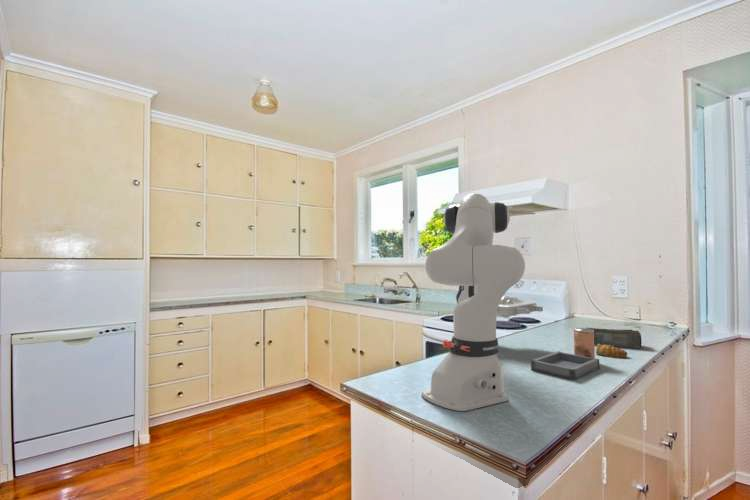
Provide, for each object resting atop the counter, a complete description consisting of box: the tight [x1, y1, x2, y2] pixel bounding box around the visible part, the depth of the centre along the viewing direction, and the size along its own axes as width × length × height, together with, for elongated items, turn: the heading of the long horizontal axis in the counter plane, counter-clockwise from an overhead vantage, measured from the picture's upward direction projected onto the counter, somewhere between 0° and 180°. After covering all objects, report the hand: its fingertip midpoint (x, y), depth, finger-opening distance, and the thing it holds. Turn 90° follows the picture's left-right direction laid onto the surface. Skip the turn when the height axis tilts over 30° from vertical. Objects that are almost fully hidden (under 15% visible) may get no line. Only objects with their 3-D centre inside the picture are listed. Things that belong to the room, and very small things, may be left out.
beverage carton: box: [587, 327, 643, 350], centre depth 148 cm, size 8×19×7 cm, turn 60°
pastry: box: [595, 344, 628, 359], centre depth 131 cm, size 9×7×4 cm
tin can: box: [573, 327, 596, 359], centre depth 123 cm, size 6×6×11 cm
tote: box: [530, 351, 601, 381], centre depth 114 cm, size 18×13×3 cm
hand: (535, 310), depth 137 cm, fingers open, 8 cm apart
